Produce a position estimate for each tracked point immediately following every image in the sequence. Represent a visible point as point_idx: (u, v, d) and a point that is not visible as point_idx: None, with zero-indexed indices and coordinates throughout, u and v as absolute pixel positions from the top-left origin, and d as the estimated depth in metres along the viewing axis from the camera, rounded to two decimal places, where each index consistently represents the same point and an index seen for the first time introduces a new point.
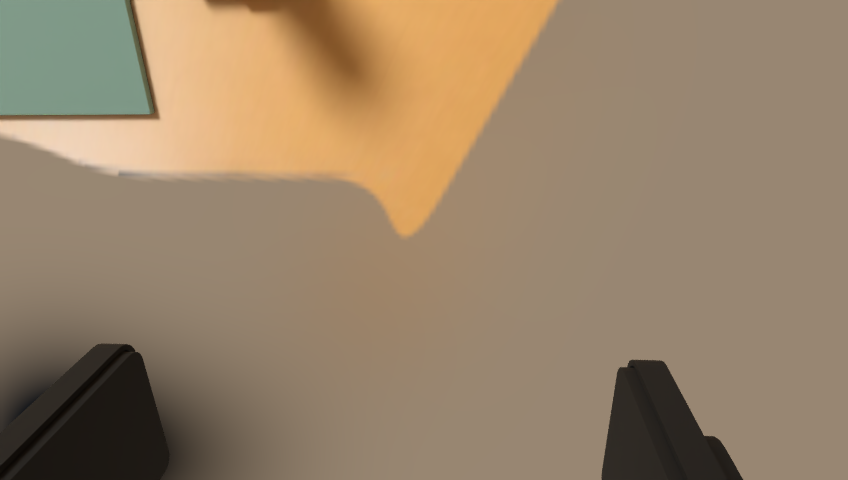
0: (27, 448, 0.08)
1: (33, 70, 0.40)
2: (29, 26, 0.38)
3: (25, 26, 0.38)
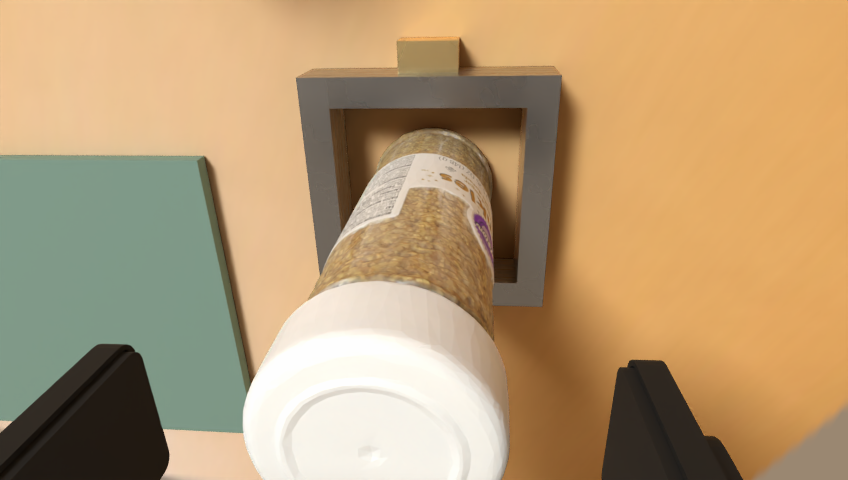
0: (27, 448, 0.08)
1: None
2: (75, 324, 0.25)
3: (67, 323, 0.25)
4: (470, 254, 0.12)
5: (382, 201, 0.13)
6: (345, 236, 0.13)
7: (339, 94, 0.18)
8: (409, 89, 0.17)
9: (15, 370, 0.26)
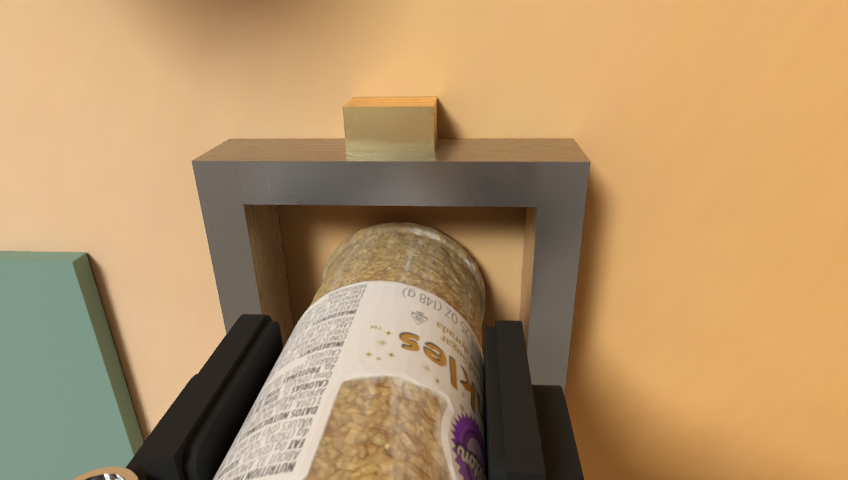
0: (215, 400, 0.09)
1: None
2: None
3: None
4: None
5: (289, 418, 0.08)
6: None
7: (257, 185, 0.12)
8: (360, 179, 0.12)
9: None
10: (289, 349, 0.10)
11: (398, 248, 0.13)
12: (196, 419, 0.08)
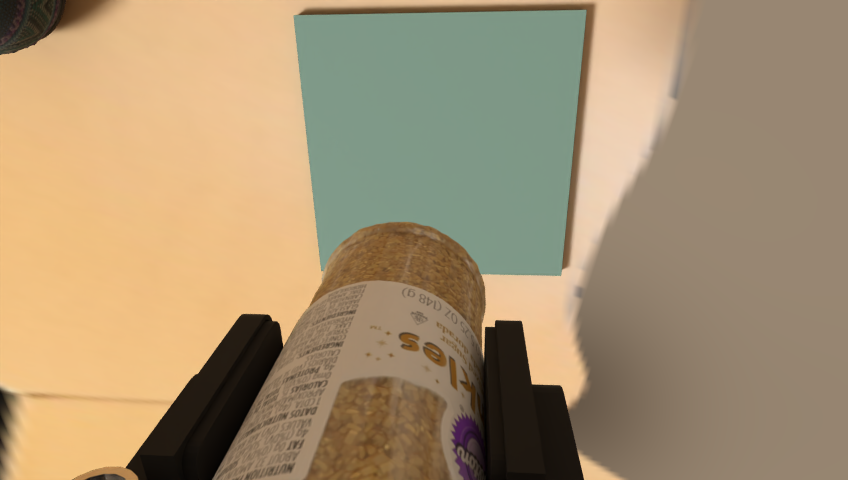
0: (215, 400, 0.09)
1: (508, 178, 0.29)
2: (453, 164, 0.29)
3: (452, 171, 0.29)
4: None
5: (288, 419, 0.08)
6: None
7: None
8: None
9: (503, 235, 0.30)
10: (288, 349, 0.10)
11: (398, 248, 0.13)
12: (197, 419, 0.08)
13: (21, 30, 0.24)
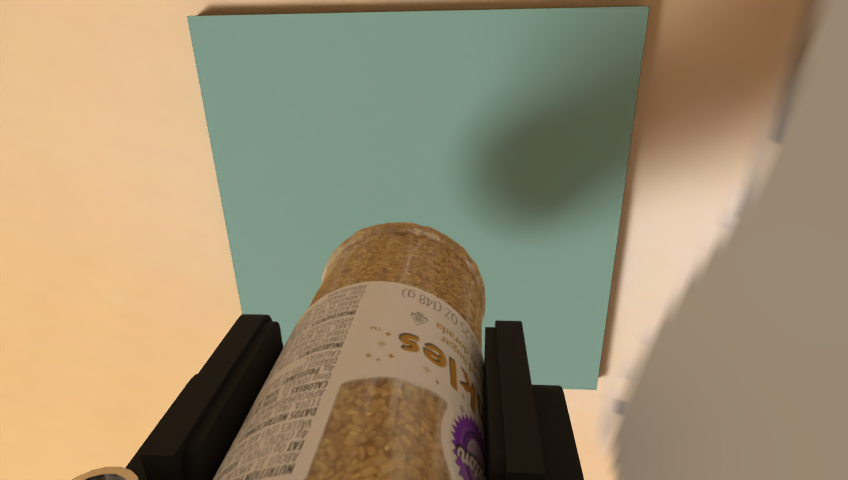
0: (215, 400, 0.09)
1: (522, 257, 0.19)
2: None
3: None
4: None
5: (288, 419, 0.08)
6: None
7: None
8: None
9: None
10: (288, 350, 0.10)
11: (398, 248, 0.13)
12: (197, 419, 0.08)
13: None
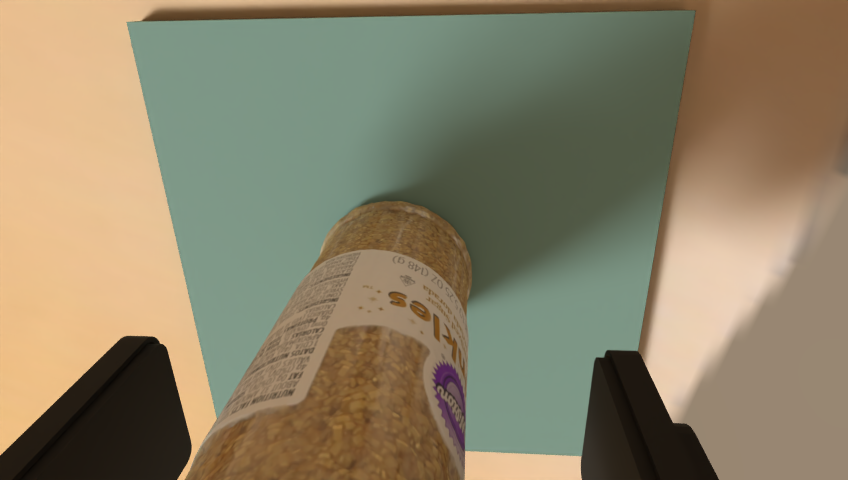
0: (62, 435, 0.08)
1: (534, 308, 0.16)
2: None
3: None
4: (419, 473, 0.07)
5: (289, 357, 0.09)
6: (219, 428, 0.08)
7: None
8: None
9: (524, 396, 0.18)
10: (289, 307, 0.11)
11: (390, 223, 0.14)
12: (31, 458, 0.08)
13: None
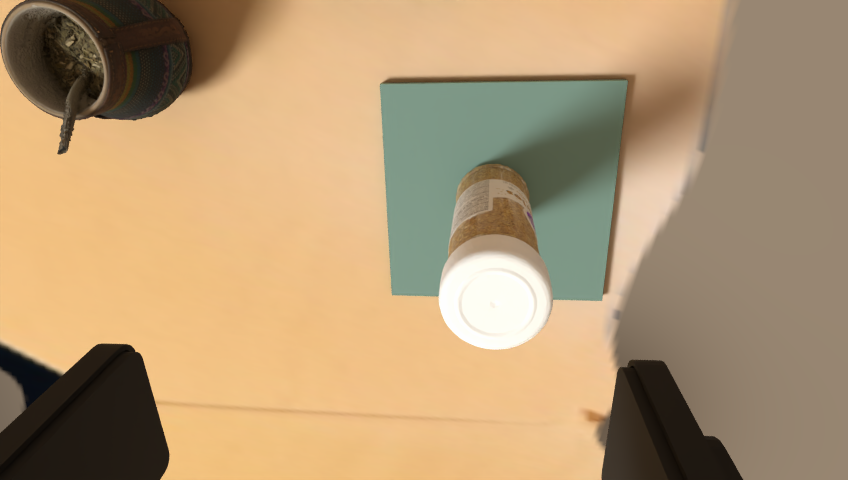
0: (27, 448, 0.08)
1: (558, 217, 0.34)
2: None
3: None
4: (528, 229, 0.25)
5: (480, 204, 0.26)
6: (464, 220, 0.25)
7: None
8: None
9: (552, 265, 0.35)
10: (466, 198, 0.28)
11: (496, 171, 0.31)
12: None
13: (162, 101, 0.30)
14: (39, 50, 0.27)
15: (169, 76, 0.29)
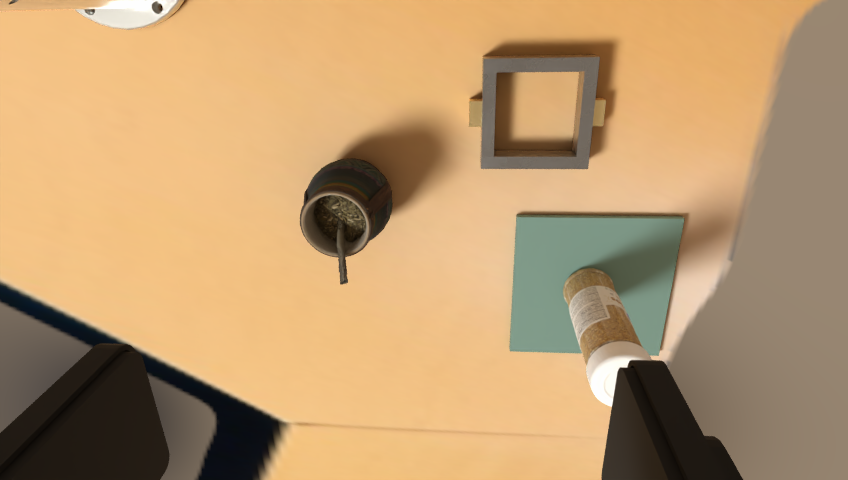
0: (27, 448, 0.08)
1: (632, 302, 0.49)
2: None
3: None
4: (633, 330, 0.40)
5: (599, 311, 0.41)
6: (592, 323, 0.41)
7: (488, 151, 0.43)
8: (487, 122, 0.42)
9: None
10: (583, 300, 0.44)
11: (595, 276, 0.47)
12: None
13: None
14: (313, 211, 0.42)
15: (386, 219, 0.44)
